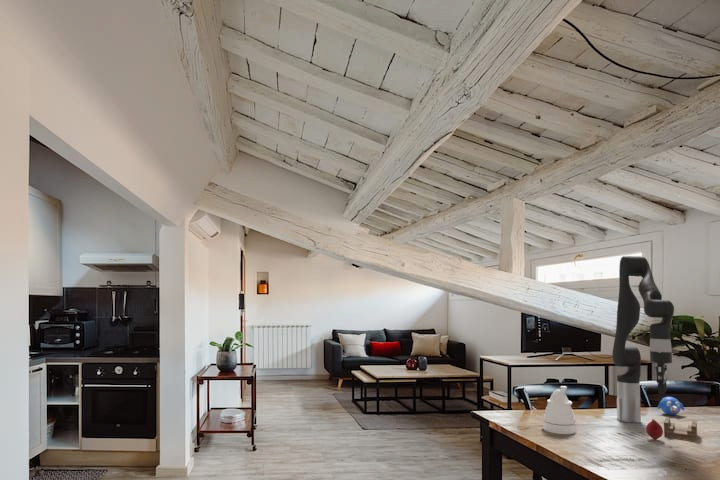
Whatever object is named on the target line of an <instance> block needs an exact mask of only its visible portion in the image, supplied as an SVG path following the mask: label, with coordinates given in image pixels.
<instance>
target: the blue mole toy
mask: <svg viewBox="0 0 720 480" xmlns="http://www.w3.org/2000/svg"><path fill="white" fill-rule="evenodd" d="M657 409H658V410H661V411H662V412H663V413H664V414H667V415H668V414H669V415H668V416H675V415H677V414H679V413H680V412H681V410H682V411H685V407H684V405H683V403H682V402H680V401H679V400H678V399H677V398H675V397H673V396H665V397H662V399H661V400H660V401H659V403H658V406H657Z"/></svg>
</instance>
